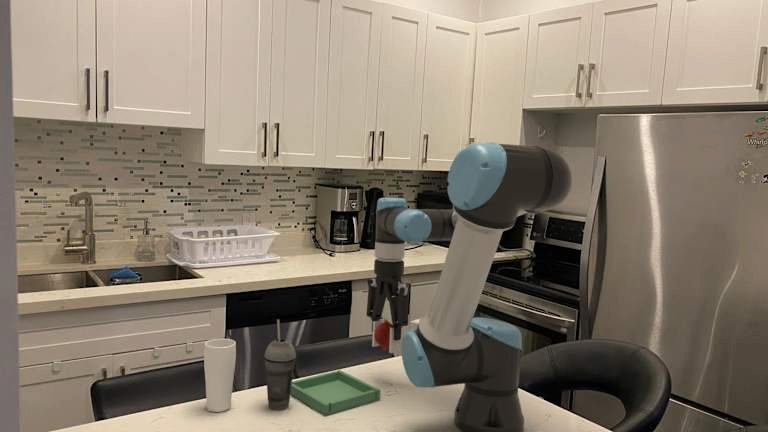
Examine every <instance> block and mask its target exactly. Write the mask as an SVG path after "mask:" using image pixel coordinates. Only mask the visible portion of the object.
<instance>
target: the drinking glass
mask: <svg viewBox="0 0 768 432" xmlns="http://www.w3.org/2000/svg"><path fill="white" fill-rule="evenodd" d="M236 349H237V344H236V341H235V340H233V339H230V338H212V339H209V340H207V341H205V343H204V349H203V350H204V354H203V355H204V356H203V361H204V363H203V364H204V365H203V367H204V379H205V380H204V381H205V396H206V402H205V403H206V409H207V411H209V412H213V413H222V412H226V411H228V410H229V409H230V408H231V406H232V395H233V386H234V377H235V369H236V359H237V350H236Z"/></svg>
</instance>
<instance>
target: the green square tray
mask: <svg viewBox="0 0 768 432" xmlns="http://www.w3.org/2000/svg"><path fill="white" fill-rule="evenodd" d="M290 397H292V398H294V399H296V400H297V401H299V402H300V403H303V404H304V405H306V406H307V407H309V408H311V409H312V410H314V411H315V412H318V414H319V413H320V415H322V416H324V417H328V416H330V415H334V414H339V413H341V412H344V411H345V412H346V411H347V410H352V409H354V408H357V407H361V406H365V405H368V404H371V403H376V402H377V401H380V400H381V389H380V388H378V387H375V386H374V385H371V384H370V383H367V382H365V381H363V380H361V379H359V378H358V377H357V378H356V377H355V376H352V375H351V374H349V373H347V372H345V371H343V370H341V369H338V370H336V371H330V372H326V373H322V374H318V375H314V376H309V377H305V378H302V379H298V380H292V385H291V393H290Z"/></svg>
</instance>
